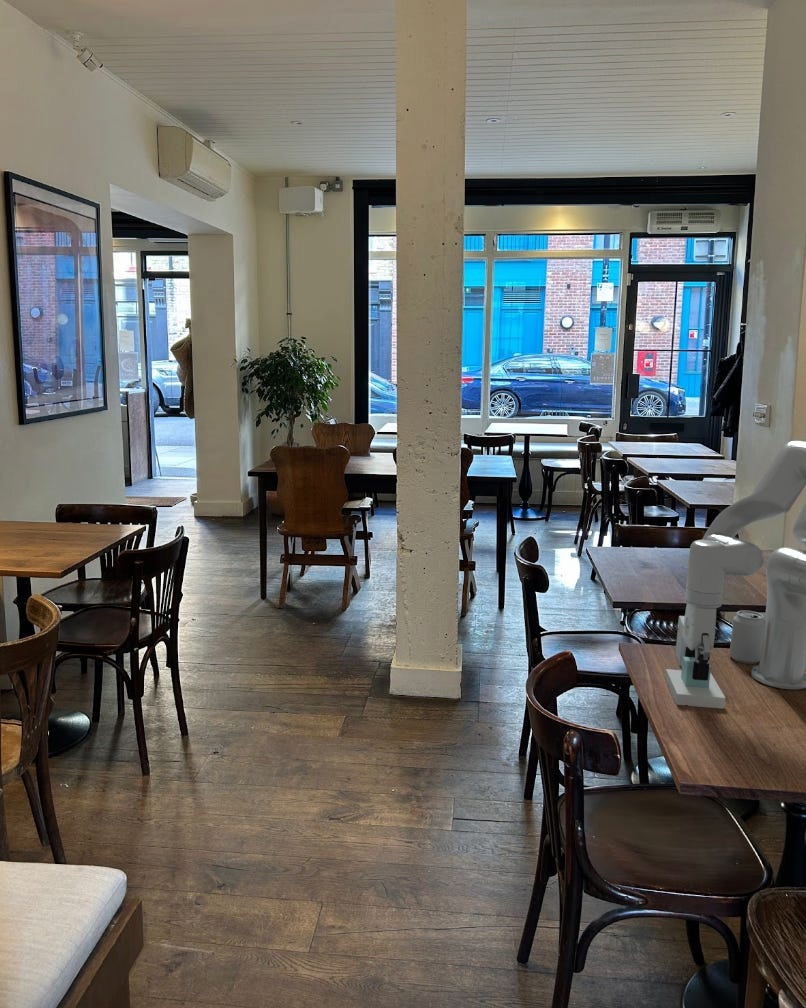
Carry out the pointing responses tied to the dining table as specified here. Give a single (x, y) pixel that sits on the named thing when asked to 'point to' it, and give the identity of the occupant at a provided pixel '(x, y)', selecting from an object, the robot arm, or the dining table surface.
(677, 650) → the small box
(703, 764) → the dining table surface
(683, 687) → the plate
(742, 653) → the can
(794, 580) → the robot arm
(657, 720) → the dining table surface
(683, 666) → the teal cube
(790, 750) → the dining table surface
